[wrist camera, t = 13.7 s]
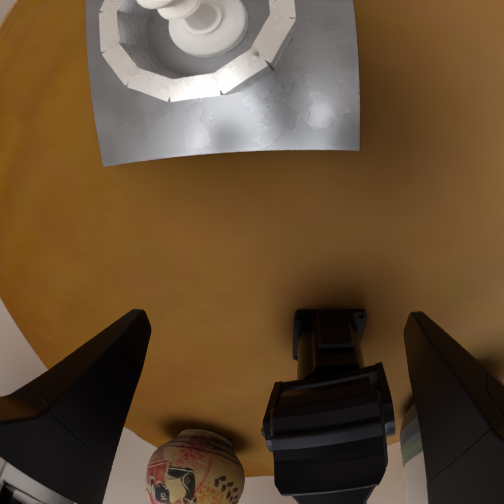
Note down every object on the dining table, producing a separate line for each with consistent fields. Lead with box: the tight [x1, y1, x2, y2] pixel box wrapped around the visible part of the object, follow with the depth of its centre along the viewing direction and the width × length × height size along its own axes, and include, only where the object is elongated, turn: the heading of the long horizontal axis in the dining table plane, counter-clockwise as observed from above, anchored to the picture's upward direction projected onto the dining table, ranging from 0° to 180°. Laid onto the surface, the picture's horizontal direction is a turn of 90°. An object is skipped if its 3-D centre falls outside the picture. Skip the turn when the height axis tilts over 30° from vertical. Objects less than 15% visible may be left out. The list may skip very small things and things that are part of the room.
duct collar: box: [86, 0, 360, 167], centre depth 13 cm, size 18×18×5 cm
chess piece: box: [136, 0, 249, 58], centre depth 10 cm, size 5×5×10 cm
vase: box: [400, 374, 504, 504], centre depth 22 cm, size 17×17×24 cm
